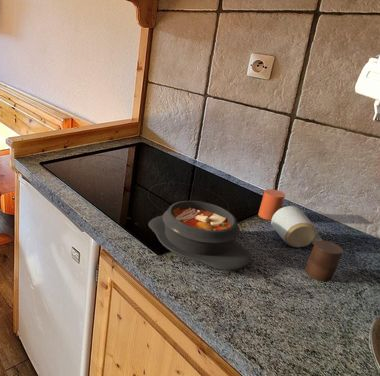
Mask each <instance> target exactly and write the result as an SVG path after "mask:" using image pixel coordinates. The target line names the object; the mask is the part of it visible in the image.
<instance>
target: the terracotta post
mask: <svg viewBox="0 0 380 376" xmlns="http://www.w3.org/2000/svg"><path fill="white" fill-rule="evenodd" d="M285 198H286V194H285V192H283V191H280V190H277V189H272V188H267V189H265V190H263V194H262V198H261V202H260V206H259V210H258V213H257V215H258V216H259V218H261V219H264V220H266V221H271V220H272V217H273V215H274V214H275V212H276V211H278V210H279V209H281V208H283V206H284V201H285Z"/></svg>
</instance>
